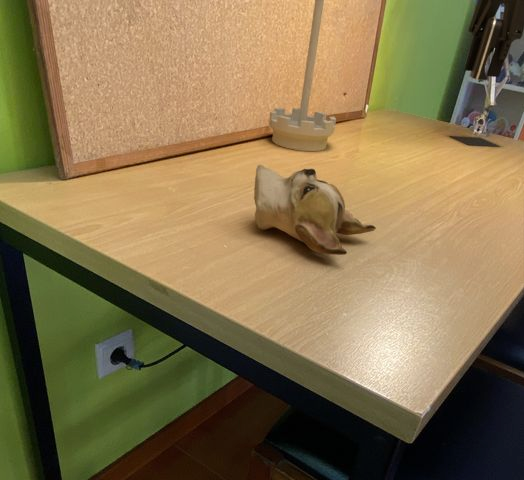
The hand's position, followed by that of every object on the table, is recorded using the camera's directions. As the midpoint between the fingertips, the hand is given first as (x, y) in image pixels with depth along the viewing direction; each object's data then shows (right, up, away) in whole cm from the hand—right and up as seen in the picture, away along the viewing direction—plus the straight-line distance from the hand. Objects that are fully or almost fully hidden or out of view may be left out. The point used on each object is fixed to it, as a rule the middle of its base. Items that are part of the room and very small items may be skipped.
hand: (481, 73), depth 112 cm
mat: (+3, -11, +11) cm, 16 cm away
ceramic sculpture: (-44, -48, -50) cm, 82 cm away
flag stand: (-41, -20, -10) cm, 47 cm away
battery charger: (0, -1, +1) cm, 1 cm away
